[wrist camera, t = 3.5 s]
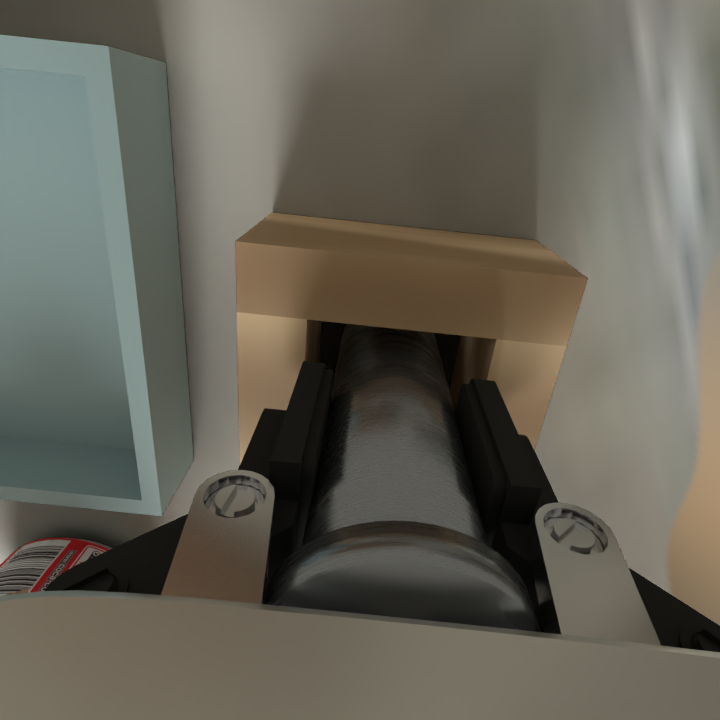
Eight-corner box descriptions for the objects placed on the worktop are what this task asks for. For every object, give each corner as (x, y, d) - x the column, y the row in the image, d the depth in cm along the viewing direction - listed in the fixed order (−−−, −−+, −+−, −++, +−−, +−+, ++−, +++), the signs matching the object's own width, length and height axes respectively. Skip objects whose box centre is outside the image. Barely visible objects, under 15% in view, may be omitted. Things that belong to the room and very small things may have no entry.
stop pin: (437, 403, 17) (508, 759, 8) (325, 392, 17) (252, 733, 7) (458, 296, 15) (585, 581, 6) (333, 283, 15) (251, 548, 6)
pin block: (482, 455, 18) (507, 537, 14) (269, 433, 18) (240, 510, 14) (537, 240, 14) (588, 278, 11) (271, 212, 14) (235, 241, 11)
